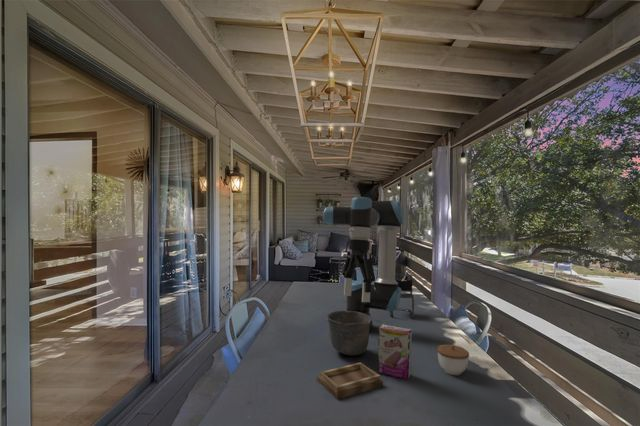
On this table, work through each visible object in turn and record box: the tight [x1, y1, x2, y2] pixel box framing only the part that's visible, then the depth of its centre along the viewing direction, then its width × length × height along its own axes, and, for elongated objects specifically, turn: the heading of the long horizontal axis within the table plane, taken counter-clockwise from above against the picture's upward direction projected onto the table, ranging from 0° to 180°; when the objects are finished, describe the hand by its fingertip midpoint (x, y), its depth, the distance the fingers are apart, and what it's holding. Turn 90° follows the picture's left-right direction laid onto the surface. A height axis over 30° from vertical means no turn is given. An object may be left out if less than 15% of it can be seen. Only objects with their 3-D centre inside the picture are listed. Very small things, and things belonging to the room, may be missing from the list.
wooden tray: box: [316, 361, 384, 400], centre depth 109 cm, size 18×13×3 cm
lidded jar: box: [436, 344, 470, 376], centre depth 119 cm, size 11×11×9 cm
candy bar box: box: [377, 323, 413, 380], centre depth 116 cm, size 11×5×16 cm, turn 65°
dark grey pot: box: [326, 310, 373, 357], centre depth 133 cm, size 18×18×15 cm
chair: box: [389, 273, 415, 319], centre depth 189 cm, size 13×17×22 cm
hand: (356, 298), depth 116 cm, fingers open, 13 cm apart
